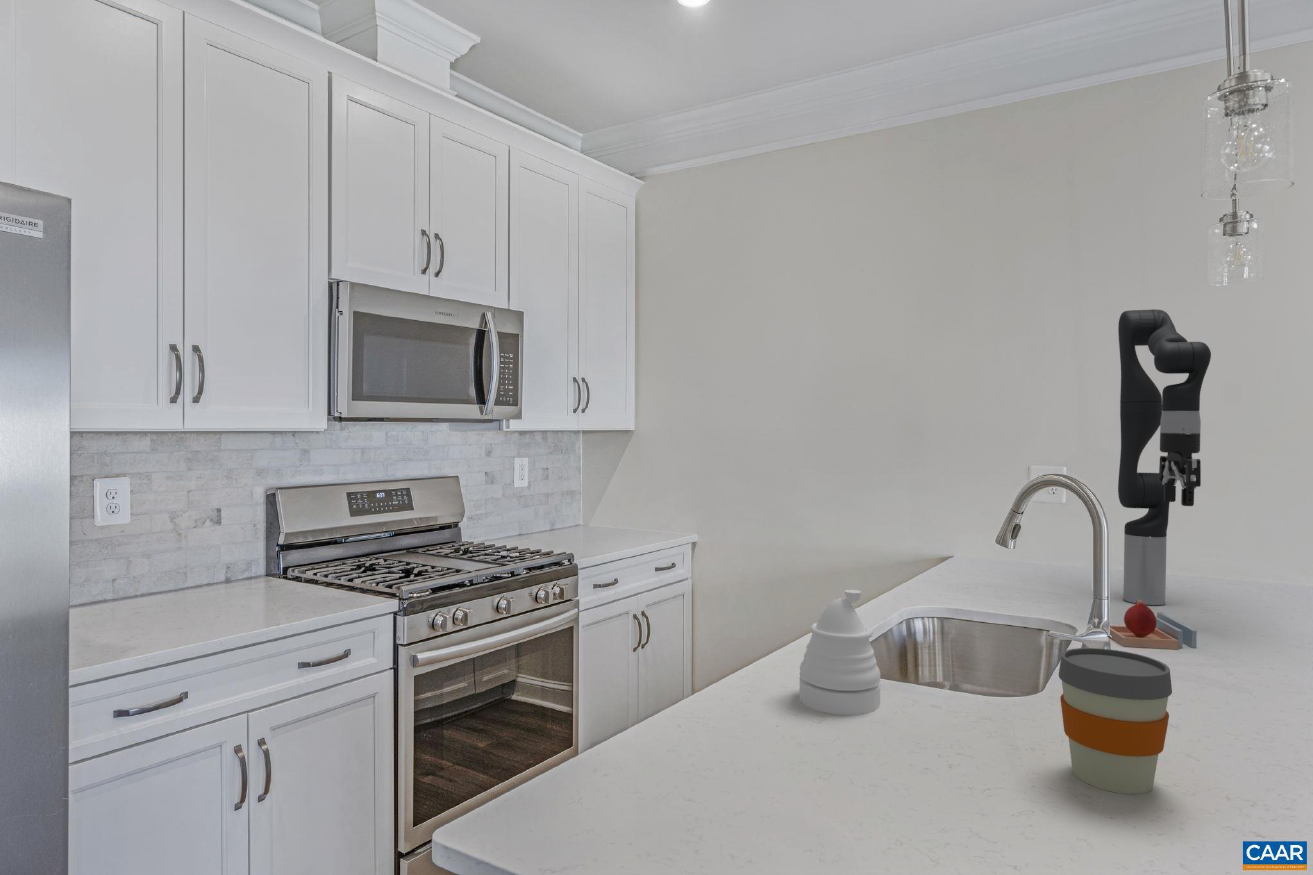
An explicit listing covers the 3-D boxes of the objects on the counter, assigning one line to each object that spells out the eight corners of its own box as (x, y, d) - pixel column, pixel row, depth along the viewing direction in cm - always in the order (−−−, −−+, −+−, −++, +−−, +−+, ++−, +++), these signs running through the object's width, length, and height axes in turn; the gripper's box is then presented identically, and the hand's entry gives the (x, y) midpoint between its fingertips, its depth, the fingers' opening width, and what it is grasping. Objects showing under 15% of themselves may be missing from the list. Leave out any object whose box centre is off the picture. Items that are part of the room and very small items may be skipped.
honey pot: (880, 691, 133) (881, 585, 132) (880, 718, 120) (881, 601, 120) (802, 684, 136) (804, 580, 136) (795, 710, 124) (796, 596, 123)
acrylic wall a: (1156, 627, 176) (1157, 612, 176) (1160, 627, 176) (1161, 612, 176) (1192, 647, 161) (1192, 630, 161) (1196, 647, 160) (1196, 630, 160)
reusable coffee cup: (1042, 776, 101) (1044, 660, 101) (1075, 748, 110) (1077, 641, 109) (1155, 811, 92) (1157, 684, 92) (1181, 778, 101) (1183, 662, 100)
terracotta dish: (1104, 633, 171) (1104, 625, 171) (1155, 636, 169) (1155, 627, 169) (1123, 646, 161) (1123, 637, 161) (1178, 649, 159) (1178, 640, 159)
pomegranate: (1147, 634, 168) (1148, 597, 168) (1162, 642, 162) (1162, 603, 162) (1118, 633, 168) (1119, 596, 168) (1132, 641, 163) (1132, 602, 162)
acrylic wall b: (1144, 628, 176) (1144, 612, 176) (1148, 628, 176) (1148, 612, 176) (1178, 648, 160) (1178, 630, 160) (1182, 648, 160) (1182, 631, 160)
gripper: (1147, 430, 183) (1146, 500, 184) (1176, 431, 169) (1174, 506, 170) (1183, 431, 182) (1181, 500, 182) (1215, 432, 168) (1213, 507, 168)
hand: (1178, 503), depth 176 cm, fingers open, 8 cm apart
